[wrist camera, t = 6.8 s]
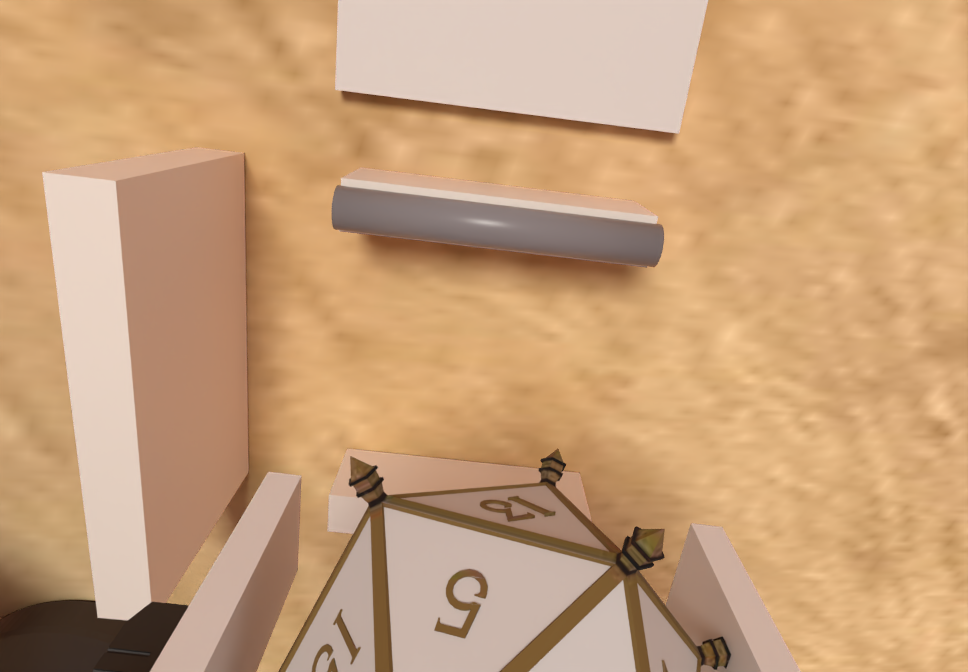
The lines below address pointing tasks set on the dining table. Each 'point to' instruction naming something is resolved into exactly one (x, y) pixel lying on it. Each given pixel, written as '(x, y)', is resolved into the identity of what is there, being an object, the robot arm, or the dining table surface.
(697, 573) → the robot arm
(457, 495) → the game die
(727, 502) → the dining table surface
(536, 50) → the mat
